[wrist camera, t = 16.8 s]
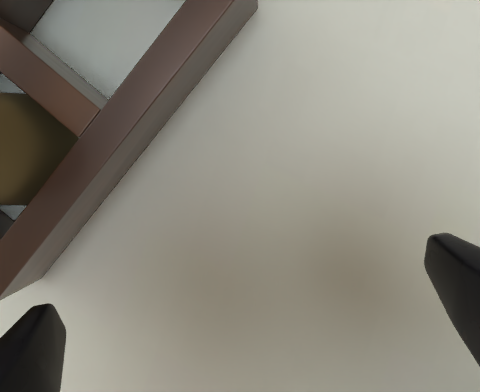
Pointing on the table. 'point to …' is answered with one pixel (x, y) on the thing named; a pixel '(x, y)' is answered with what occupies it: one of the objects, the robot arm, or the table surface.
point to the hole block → (98, 120)
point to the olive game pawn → (28, 147)
